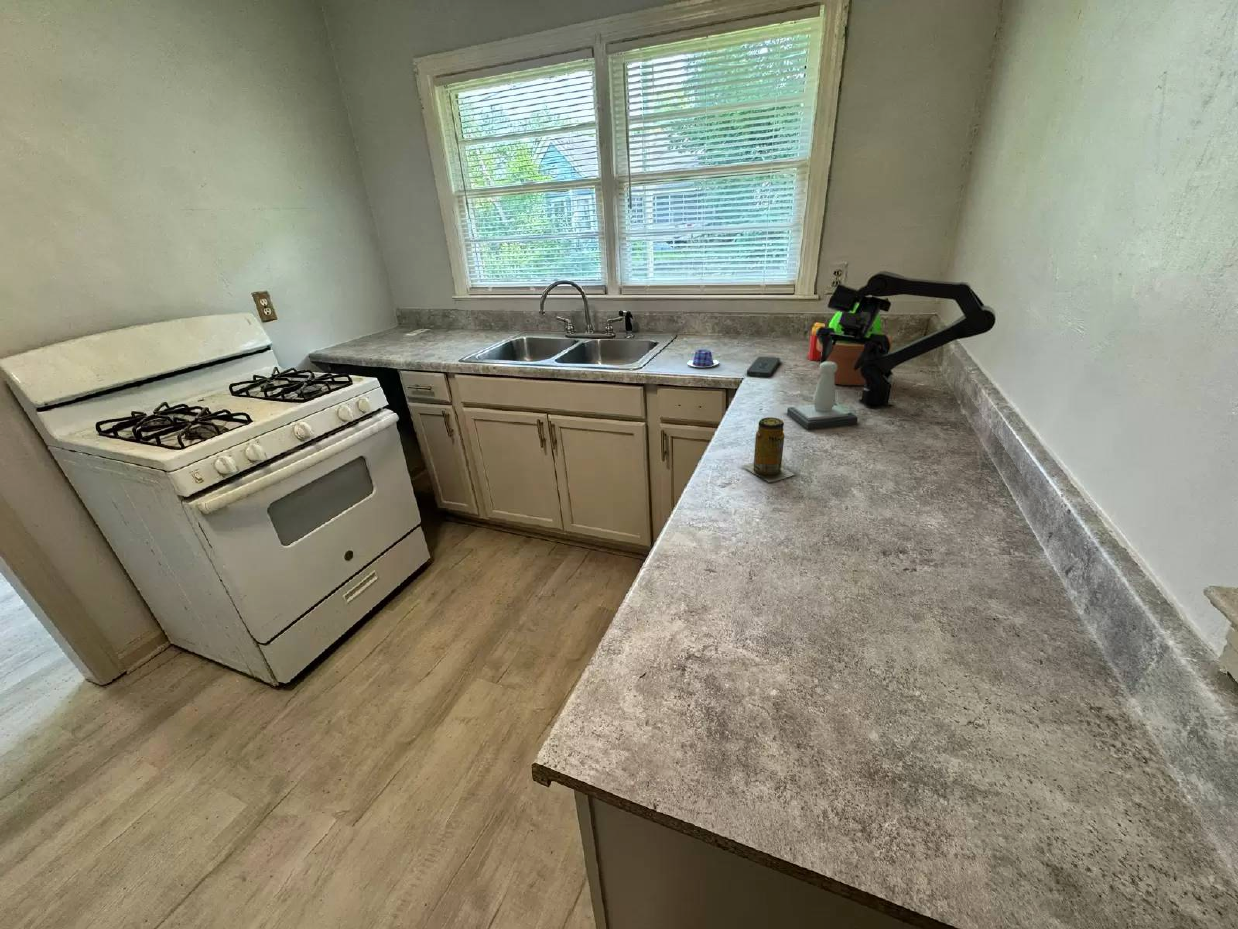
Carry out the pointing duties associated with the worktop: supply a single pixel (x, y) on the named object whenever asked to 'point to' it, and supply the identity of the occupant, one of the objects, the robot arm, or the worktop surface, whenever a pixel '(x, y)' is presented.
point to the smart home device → (763, 366)
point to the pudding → (703, 359)
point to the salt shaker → (825, 388)
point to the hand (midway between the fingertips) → (837, 366)
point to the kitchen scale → (821, 417)
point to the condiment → (769, 451)
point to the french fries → (814, 343)
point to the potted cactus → (848, 354)
